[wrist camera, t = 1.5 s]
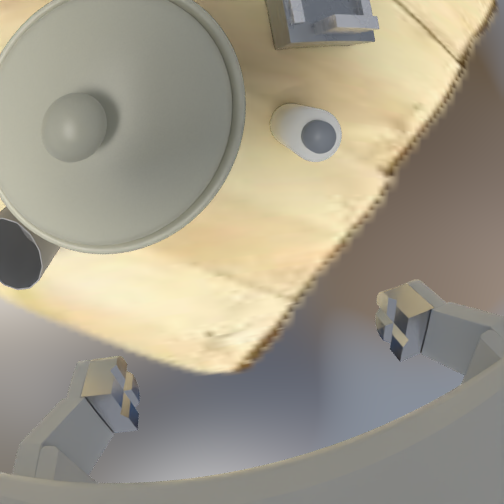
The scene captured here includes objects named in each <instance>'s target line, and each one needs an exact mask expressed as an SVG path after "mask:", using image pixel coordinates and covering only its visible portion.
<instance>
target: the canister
mask: <svg viewBox="0 0 504 504" xmlns="http://www.w3.org/2000/svg"><path fill="white" fill-rule="evenodd" d="M245 110H246V102H245V88H244V81H243V76H242V72H241V68H240V65H239V62H238V59H237V56H236V54H235V51H234V49H233V47H232V45H231V43H230V41H229V39H228V38H227V36H226V35H225V33H224V31H223V30H222V29H221V27H220V26H219V25H218V23H217V22H216V21H215V20H214V19H213V18H212V17H211V16H210V15H209V14H208V13H207V12H206V11H205V10H204V9H203V8H202V7H201V6H199V5H198V4H197V3H195V2H194V1H193V0H53V1H51V2H49V3H48V4H46V5H45V6H44V7H42V8H41V9H39V10H38V11H37V12H36V13H34V14H33V15H32V16H31V17H30V18H29V19H28V20H27V21H26V22H25V23H24V24H23V25H22V26H21V27H20V28H19V29H18V30H17V31H16V33H15V34H14V35H13V36H12V38H11V39H10V40H9V42H8V43H7V44H6V46H5V47H4V49H3V51H2V52H1V54H0V198H1V200H2V201H3V202H4V204H5V205H6V207H7V208H8V209H9V210H10V212H11V213H12V214H13V215H14V216H15V217H16V218H17V219H18V220H19V221H20V222H21V223H22V224H23V225H24V226H26V227H27V228H28V229H29V230H31V231H32V232H34V233H35V234H37V235H38V236H40V237H41V238H43V239H45V240H47V241H49V242H51V243H53V244H55V245H58V246H60V247H63V248H66V249H70V250H73V251H78V252H83V253H91V254H116V253H124V252H129V251H134V250H137V249H141V248H144V247H147V246H150V245H152V244H155V243H157V242H159V241H161V240H163V239H165V238H167V237H169V236H171V235H172V234H174V233H176V232H177V231H179V230H180V229H182V228H183V227H184V226H186V225H187V224H188V223H189V222H191V221H192V220H193V219H194V218H195V217H196V216H197V215H198V214H200V213H201V212H202V211H203V209H204V208H205V207H206V206H207V205H208V204H209V203H210V202H211V200H212V199H213V198H214V196H215V195H216V194H217V192H218V191H219V189H220V188H221V186H222V185H223V183H224V182H225V180H226V178H227V176H228V174H229V172H230V170H231V168H232V166H233V164H234V161H235V159H236V156H237V153H238V150H239V147H240V143H241V139H242V135H243V130H244V123H245Z"/></svg>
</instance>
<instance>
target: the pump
mask: <svg viewBox="0 0 504 504" xmlns="http://www.w3.org/2000/svg"><path fill="white" fill-rule="evenodd" d="M270 129H271V132H272V135H273V136H274V138H275V139H276V140H277V141H279V142H280V143H281V144H283V145H284V146H286V147H287V148H289V149H290V150H292V151H293V152H294V153H296V154H297V155H299V156H300V157H301V158H303V159H305V160H308V161H312V162H319V161H323V160H326V159H328V158H329V157H331V156H332V155H333V154H334V153H335V152H336V151H337V149H338V147H339V145H340V142H341V137H342V132H341V127H340V124H339V122H338V121H337V119H336V118H335V117H334V116H333V115H332V114H331V113H329V112H327V111H325V110H322V109H317V108H313V107H308V106H304V105H299V104H294V103H289V104H284V105H282V106H280V107H279V108H277V109H276V110H275V112H274V113H273V115H272V117H271V120H270Z"/></svg>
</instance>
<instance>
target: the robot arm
mask: <svg viewBox="0 0 504 504" xmlns="http://www.w3.org/2000/svg"><path fill="white" fill-rule="evenodd" d="M377 304H378V306H380V308H379V310H378V311H377V313H376V318H375V324H376V328H377V331H378V333H379V335H380V337H381V338H382V340H383V341H386V342H389V343H391V345H390V350H391V351H392V352H393V354H394V355H395V356H396V357H397V359H398V360H399V361H400V362H401V361H404V360H406V359H408V358H411V357H413V356H415V355H418V354H420V353H421V354H422V355H423V356H425V357H427V358H429V359H431V360H434V361H436V362H438V363H440V364H442V365H444V366H446V367H448V368H450V369H452V370H454V371H456V372H459V373H460V374H463V375H465V376H464V379H463V381H462V383H461V385H460V386H458V387H457V388H455V389H453V390H452V391H450V392H448V393H446V394H445V395H443V396H441V397H439V398H437V399H435V400H434V401H432V402H430V403H428V404H426V405H424V406H422V407H421V408H418V409H416V410H415V411H413V412H410V413H408V414H406V415H404V416H402V417H400V418H398V419H396V420H394V421H391V422H389V423H387V424H385V425H383V426H380V427H378V428H375V429H373V430H371V431H368V432H366V433H363V434H361V435H358V436H356V437H353V438H351V439H348V440H345V441H343V442H340V443H337V444H334V445H331V446H329V447H325V448H323V449H319V450H316V451H314V452H310V453H307V454H304V455H300V456H297V457H294V458H290V459H286V460H283V461H279V462H275V463H271V464H267V465H263V466H258V467H254V468H250V469H244V470H240V471H234V472H229V473H224V474H218V475H211V476H205V477H198V478H191V479H181V480H172V481H160V482H144V483H98V482H96V481H95V480H94V479H92V478H91V477H90V476H89V474H90V472H91V470H92V469H93V467H94V466H95V464H96V463H97V461H98V459H99V458H100V456H101V454H102V453H103V451H104V450H105V448H106V446H107V445H108V443H109V442H110V440H111V439H112V437H113V435H114V433H119V432H127V431H136V430H138V419H139V413H138V411H137V410H136V409H135V408H136V406H137V405H138V404H139V402H140V392H139V387H138V384H137V381H136V379H135V377H134V375H133V374H131V373H130V372H128V371H127V363H126V361H125V360H124V358H123V357H121V356H115V357H108V358H100V359H93V360H85V361H79V362H78V363H77V364H76V367H75V371H74V374H73V377H72V380H71V384H70V387H69V391H68V394H67V398H66V399H62V400H61V401H60V402H59V403H58V404H57V405H56V406H55V407H54V408H53V409H52V410H51V411H50V412H49V413H48V414H47V415H46V416H45V417H44V419H43V420H42V421H41V422H40V423H39V424H38V425H37V426H36V427H35V428H34V429H33V430H32V431H31V432H30V433H29V434H28V435H27V436H26V437H25V438H24V440H22V442H21V443H20V445H19V449H18V452H17V456H16V460H15V464H14V468H13V473H12V474H8V473H3V472H0V504H504V316H500V315H497V314H493V313H489V312H486V311H482V310H479V309H475V308H471V307H467V306H464V305H460V304H457V303H453V302H448V303H446V302H445V301H444V300H443V299H441V298H440V297H439V296H438V295H437V294H436V293H434V292H433V291H432V290H431V289H430V288H429V287H427V286H426V285H425V284H424V283H423V282H422V281H420V280H417V279H415V280H413V281H410V282H407V283H405V284H403V285H400V286H397V287H394V288H391V289H388V290H385V291H383V292H379V294H378V296H377Z"/></svg>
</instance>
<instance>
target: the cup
mask: <svg viewBox="0 0 504 504" xmlns="http://www.w3.org/2000/svg"><path fill="white" fill-rule="evenodd" d="M59 248H60V246H58V245H55V244H53V243H51V242H49V241H47V240H45V239H43V238H41V237H40V236H38V235H37V234H35V233H34V232H32V231H31V230H29V229H28V228H27V227H26V226H24V225H23V224H22V223H21V222H20V221H19V220H18V219H17V218H16V217H15V216H14V215H13V214H12V213H11V212H10V210H9V209H8V208H7V207H5V208H4V209H3V210H2V211H1V212H0V282H1V283H2V284H4V285H5V286H8V287H11V288H14V289H17V290H21V289H29V288H31V287H32V286H33V285H34V284H36V283H37V282H38V281H39V280H40V278H41V277H42V275H43V273H44V272H45V270H46V268H47V267H48V265H49V264H50V262H51V261H52V259H53V257H54V256H55V254H56V253H57V251H58V250H59Z"/></svg>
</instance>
